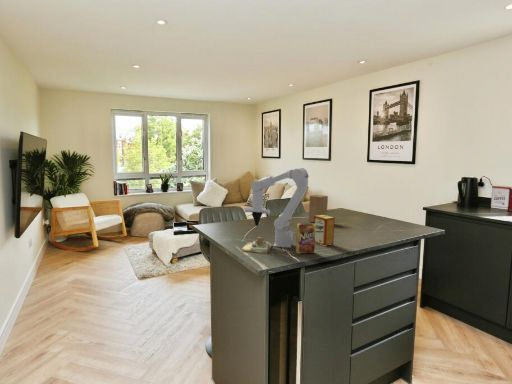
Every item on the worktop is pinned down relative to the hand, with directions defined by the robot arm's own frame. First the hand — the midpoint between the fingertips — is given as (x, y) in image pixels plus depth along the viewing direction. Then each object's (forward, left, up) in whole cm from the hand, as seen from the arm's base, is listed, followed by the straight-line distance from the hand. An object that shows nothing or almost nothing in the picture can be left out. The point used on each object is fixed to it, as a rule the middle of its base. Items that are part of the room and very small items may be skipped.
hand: (256, 225), depth 186 cm
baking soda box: (-37, -8, -10) cm, 39 cm away
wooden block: (-30, -68, -10) cm, 75 cm away
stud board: (-4, +13, -9) cm, 17 cm away
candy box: (-29, +13, -10) cm, 33 cm away
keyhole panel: (-5, +13, -8) cm, 16 cm away
